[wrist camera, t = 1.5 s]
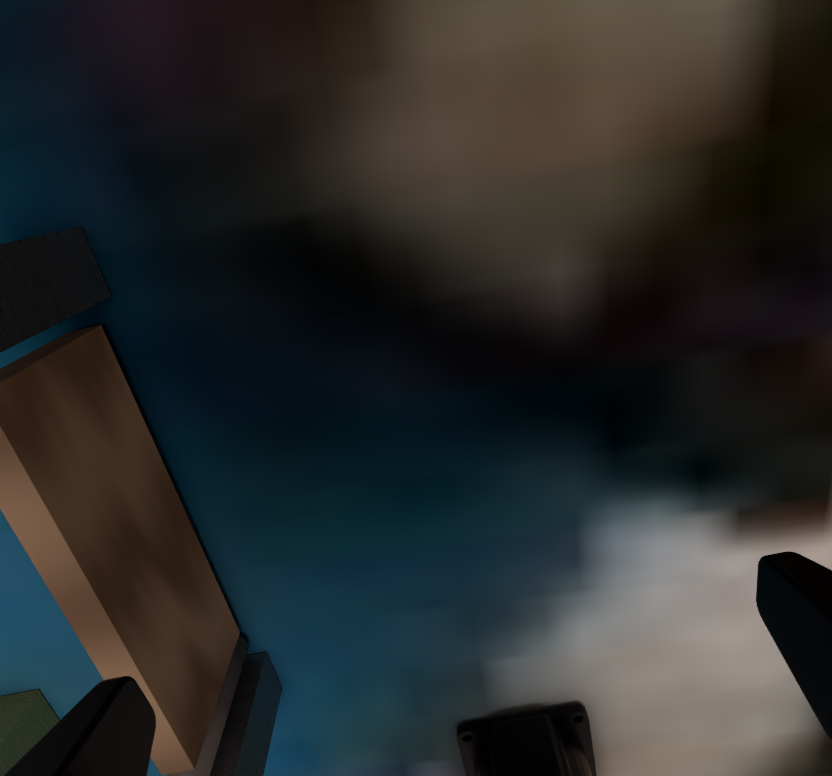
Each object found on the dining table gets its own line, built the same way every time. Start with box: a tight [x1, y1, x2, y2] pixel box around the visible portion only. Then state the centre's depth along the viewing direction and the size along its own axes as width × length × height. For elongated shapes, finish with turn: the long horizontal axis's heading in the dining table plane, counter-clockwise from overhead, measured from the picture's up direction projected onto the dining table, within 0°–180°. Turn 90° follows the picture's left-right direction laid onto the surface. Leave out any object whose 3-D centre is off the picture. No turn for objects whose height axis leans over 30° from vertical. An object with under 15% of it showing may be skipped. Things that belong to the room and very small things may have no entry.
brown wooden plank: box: [0, 325, 248, 776], centre depth 20 cm, size 16×2×6 cm, turn 12°
